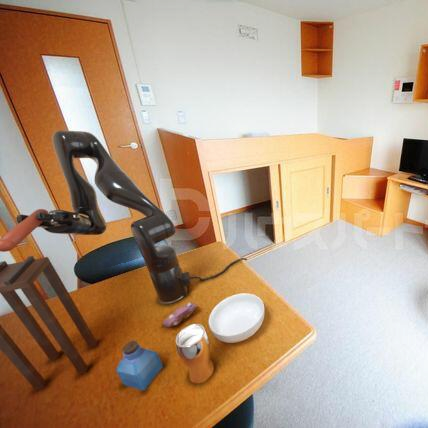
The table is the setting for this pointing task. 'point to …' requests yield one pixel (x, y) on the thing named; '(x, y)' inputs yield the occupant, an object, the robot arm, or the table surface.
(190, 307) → the video game controller
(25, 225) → the sausage
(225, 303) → the cereal bowl
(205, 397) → the table surface
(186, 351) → the silver metal tumbler
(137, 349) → the perfume bottle
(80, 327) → the shelf stand
